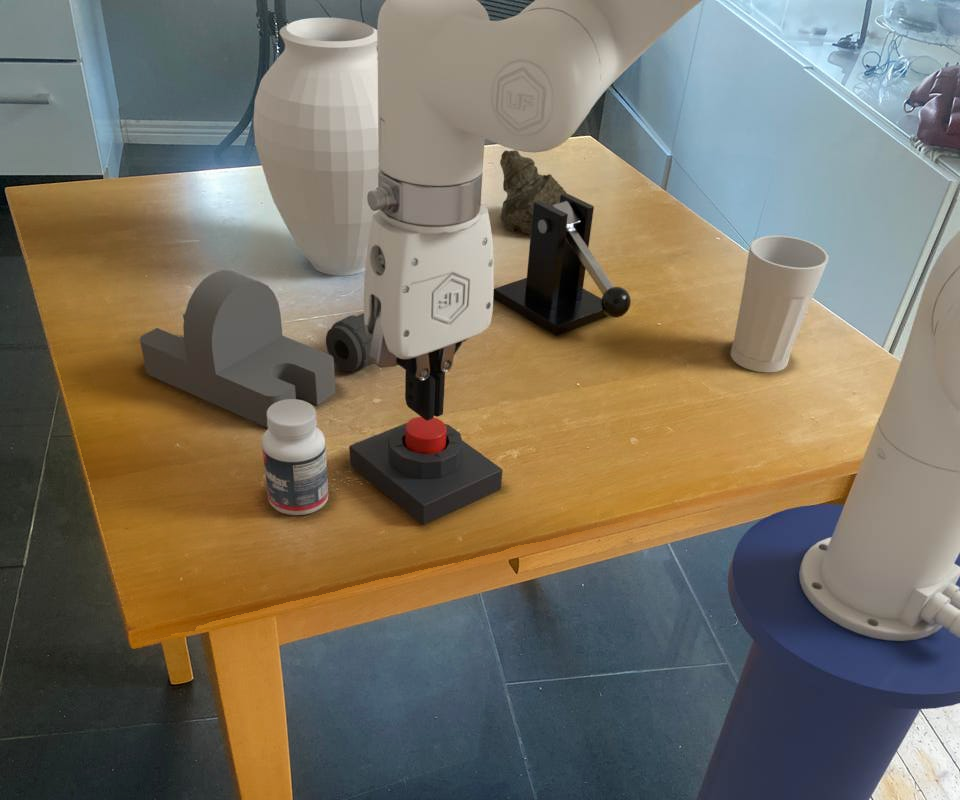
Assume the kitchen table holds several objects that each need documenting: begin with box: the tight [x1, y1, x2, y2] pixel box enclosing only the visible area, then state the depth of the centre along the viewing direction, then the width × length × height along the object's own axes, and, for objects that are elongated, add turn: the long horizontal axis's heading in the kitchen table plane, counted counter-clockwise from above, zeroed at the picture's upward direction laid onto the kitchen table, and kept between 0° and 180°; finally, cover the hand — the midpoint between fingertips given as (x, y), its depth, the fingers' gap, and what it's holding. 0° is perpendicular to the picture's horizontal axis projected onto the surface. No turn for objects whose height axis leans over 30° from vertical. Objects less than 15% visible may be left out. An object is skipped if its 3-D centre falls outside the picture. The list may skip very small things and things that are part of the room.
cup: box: [730, 235, 829, 373], centre depth 105 cm, size 8×8×12 cm
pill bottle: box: [261, 398, 329, 516], centre depth 83 cm, size 5×5×9 cm
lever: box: [552, 201, 632, 318], centre depth 108 cm, size 14×3×3 cm, turn 40°
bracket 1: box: [139, 269, 336, 429], centre depth 96 cm, size 10×18×11 cm, turn 57°
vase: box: [253, 17, 379, 277], centre depth 111 cm, size 18×18×25 cm
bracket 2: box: [493, 192, 609, 337], centre depth 111 cm, size 11×9×12 cm
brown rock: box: [499, 149, 598, 235], centre depth 128 cm, size 11×12×10 cm
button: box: [405, 416, 446, 454], centre depth 87 cm, size 4×4×2 cm
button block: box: [348, 422, 504, 526], centre depth 88 cm, size 11×9×4 cm
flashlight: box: [325, 312, 374, 372], centre depth 104 cm, size 15×5×5 cm, turn 141°
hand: (424, 410), depth 85 cm, fingers closed
